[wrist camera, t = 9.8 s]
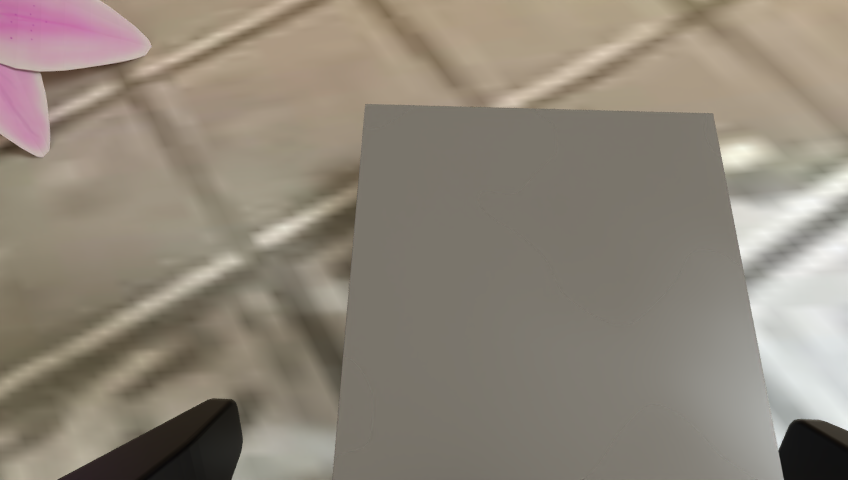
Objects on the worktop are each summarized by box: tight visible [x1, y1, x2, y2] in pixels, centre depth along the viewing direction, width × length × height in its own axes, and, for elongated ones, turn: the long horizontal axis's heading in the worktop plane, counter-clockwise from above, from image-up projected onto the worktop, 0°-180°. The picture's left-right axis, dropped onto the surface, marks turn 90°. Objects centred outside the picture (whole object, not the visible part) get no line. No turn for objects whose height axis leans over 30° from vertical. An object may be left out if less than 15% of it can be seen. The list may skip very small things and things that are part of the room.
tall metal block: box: [332, 104, 784, 480], centre depth 12 cm, size 4×4×13 cm
